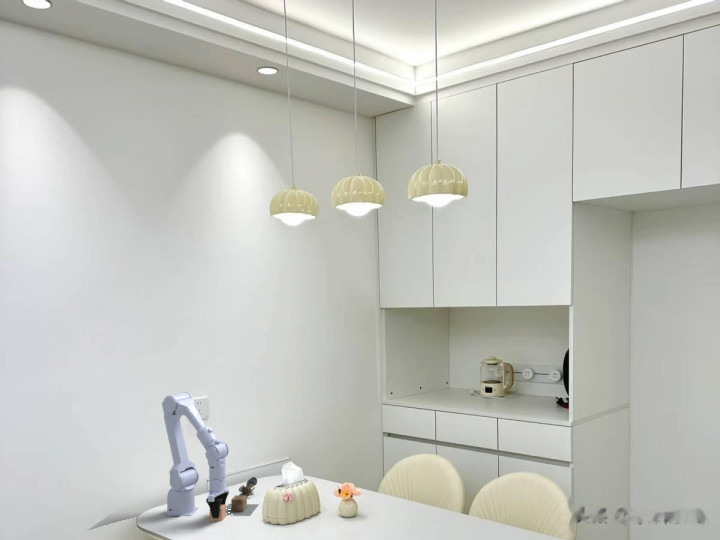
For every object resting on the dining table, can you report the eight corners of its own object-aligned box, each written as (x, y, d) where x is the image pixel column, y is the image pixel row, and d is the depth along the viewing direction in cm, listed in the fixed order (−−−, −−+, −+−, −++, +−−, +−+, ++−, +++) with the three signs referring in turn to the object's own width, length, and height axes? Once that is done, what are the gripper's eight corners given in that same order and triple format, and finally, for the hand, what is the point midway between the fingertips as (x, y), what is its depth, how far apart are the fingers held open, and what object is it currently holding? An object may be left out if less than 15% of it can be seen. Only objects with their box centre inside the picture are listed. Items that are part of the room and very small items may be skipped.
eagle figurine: (260, 495, 241) (261, 483, 249) (250, 481, 239) (251, 470, 248) (244, 505, 240) (246, 494, 249) (234, 492, 239) (236, 481, 248)
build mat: (218, 516, 222) (218, 515, 222) (228, 504, 234) (228, 503, 234) (250, 516, 220) (250, 515, 220) (259, 505, 232) (259, 504, 232)
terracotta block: (209, 521, 217) (209, 508, 217) (214, 516, 221) (214, 504, 221) (222, 521, 216) (221, 509, 216) (226, 517, 221) (226, 504, 221)
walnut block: (231, 511, 225) (231, 499, 225) (235, 507, 229) (235, 495, 230) (243, 511, 225) (243, 499, 225) (246, 507, 229) (246, 495, 229)
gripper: (221, 483, 212) (222, 523, 211) (234, 471, 226) (235, 508, 225) (201, 483, 212) (202, 522, 212) (216, 471, 227) (216, 507, 226)
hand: (218, 515), depth 219 cm, fingers closed on terracotta block, 4 cm apart
